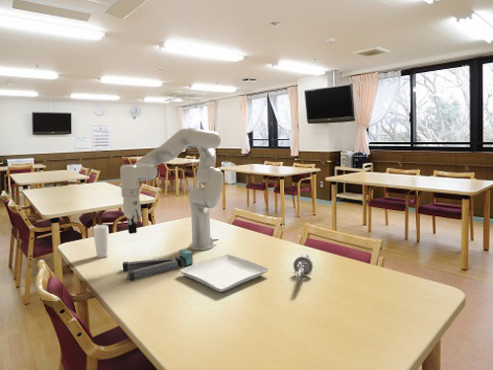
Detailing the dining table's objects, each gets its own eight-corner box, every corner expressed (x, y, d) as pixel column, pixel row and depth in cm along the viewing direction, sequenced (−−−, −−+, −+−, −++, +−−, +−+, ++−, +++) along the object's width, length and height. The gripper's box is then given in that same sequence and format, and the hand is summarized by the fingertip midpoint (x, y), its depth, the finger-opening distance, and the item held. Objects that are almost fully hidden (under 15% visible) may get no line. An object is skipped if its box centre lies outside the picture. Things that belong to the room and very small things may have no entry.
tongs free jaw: (173, 263, 159) (173, 257, 159) (173, 265, 156) (173, 259, 156) (123, 268, 153) (123, 262, 153) (123, 271, 151) (122, 264, 150)
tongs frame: (187, 261, 163) (187, 254, 162) (193, 264, 158) (193, 257, 158) (125, 277, 145) (124, 269, 145) (129, 281, 141) (129, 273, 140)
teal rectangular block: (185, 259, 163) (185, 248, 162) (192, 263, 157) (192, 252, 157) (179, 260, 161) (179, 250, 160) (186, 264, 156) (186, 253, 155)
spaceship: (283, 271, 130) (303, 265, 127) (296, 250, 163) (312, 245, 161) (291, 291, 129) (311, 285, 127) (302, 266, 163) (318, 262, 161)
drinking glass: (104, 259, 166) (102, 228, 164) (92, 258, 168) (89, 228, 166) (112, 254, 173) (111, 225, 171) (100, 253, 174) (98, 224, 172)
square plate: (227, 260, 164) (227, 252, 164) (270, 277, 145) (270, 268, 144) (178, 277, 145) (178, 268, 145) (221, 298, 126) (220, 288, 126)
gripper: (145, 193, 151) (147, 235, 153) (132, 189, 162) (134, 228, 165) (127, 195, 146) (130, 238, 149) (116, 191, 158) (118, 230, 160)
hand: (132, 232), depth 157 cm, fingers closed
